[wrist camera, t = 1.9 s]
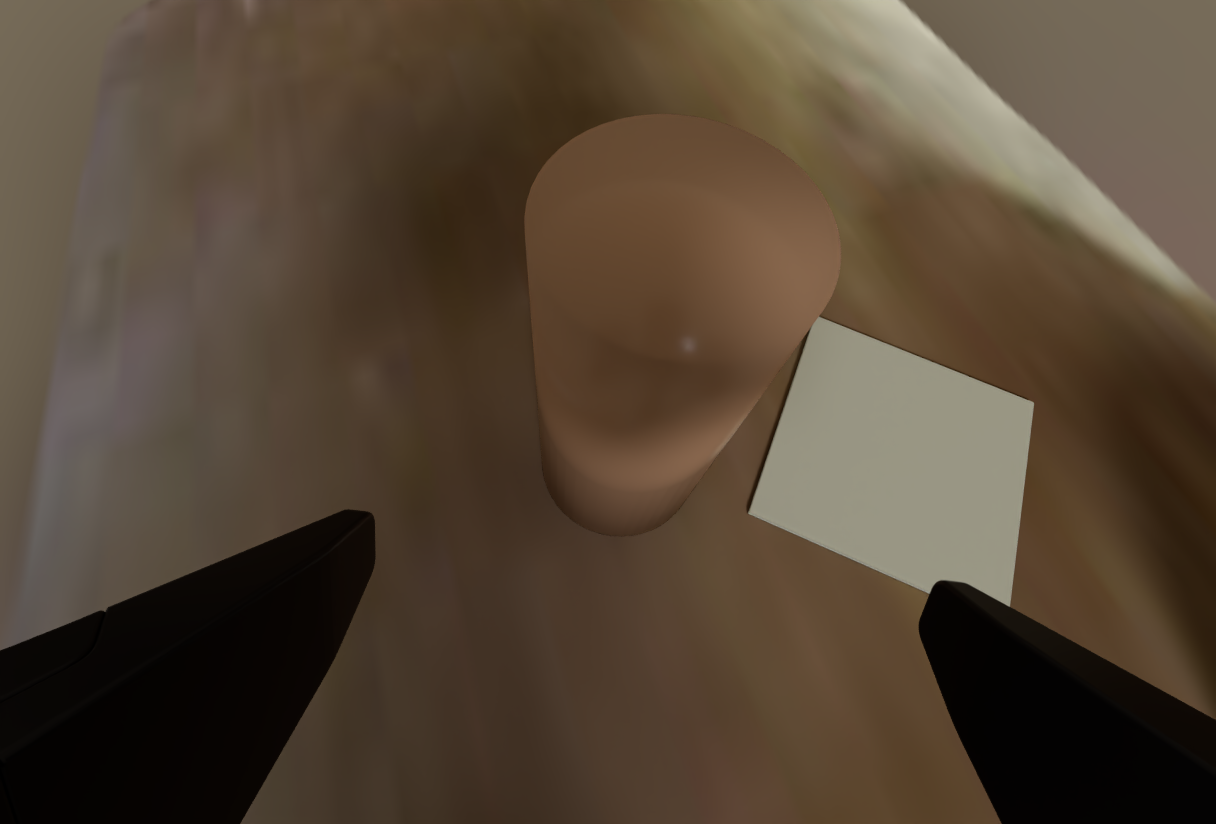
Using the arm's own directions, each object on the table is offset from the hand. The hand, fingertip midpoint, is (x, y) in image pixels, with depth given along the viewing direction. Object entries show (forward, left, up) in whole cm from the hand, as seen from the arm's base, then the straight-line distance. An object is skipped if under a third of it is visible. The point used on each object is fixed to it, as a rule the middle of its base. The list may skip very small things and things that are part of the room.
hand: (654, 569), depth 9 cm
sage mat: (+13, -4, -12) cm, 18 cm away
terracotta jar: (+5, +4, -12) cm, 13 cm away
